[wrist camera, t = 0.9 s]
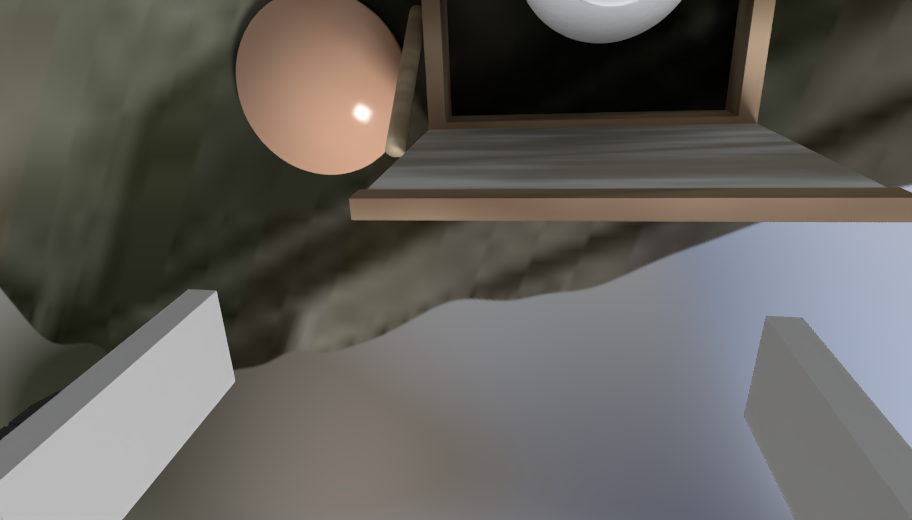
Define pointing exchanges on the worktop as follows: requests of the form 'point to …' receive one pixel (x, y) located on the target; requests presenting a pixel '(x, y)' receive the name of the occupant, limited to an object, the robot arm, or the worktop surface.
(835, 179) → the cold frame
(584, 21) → the pill bottle
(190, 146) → the worktop surface
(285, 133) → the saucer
